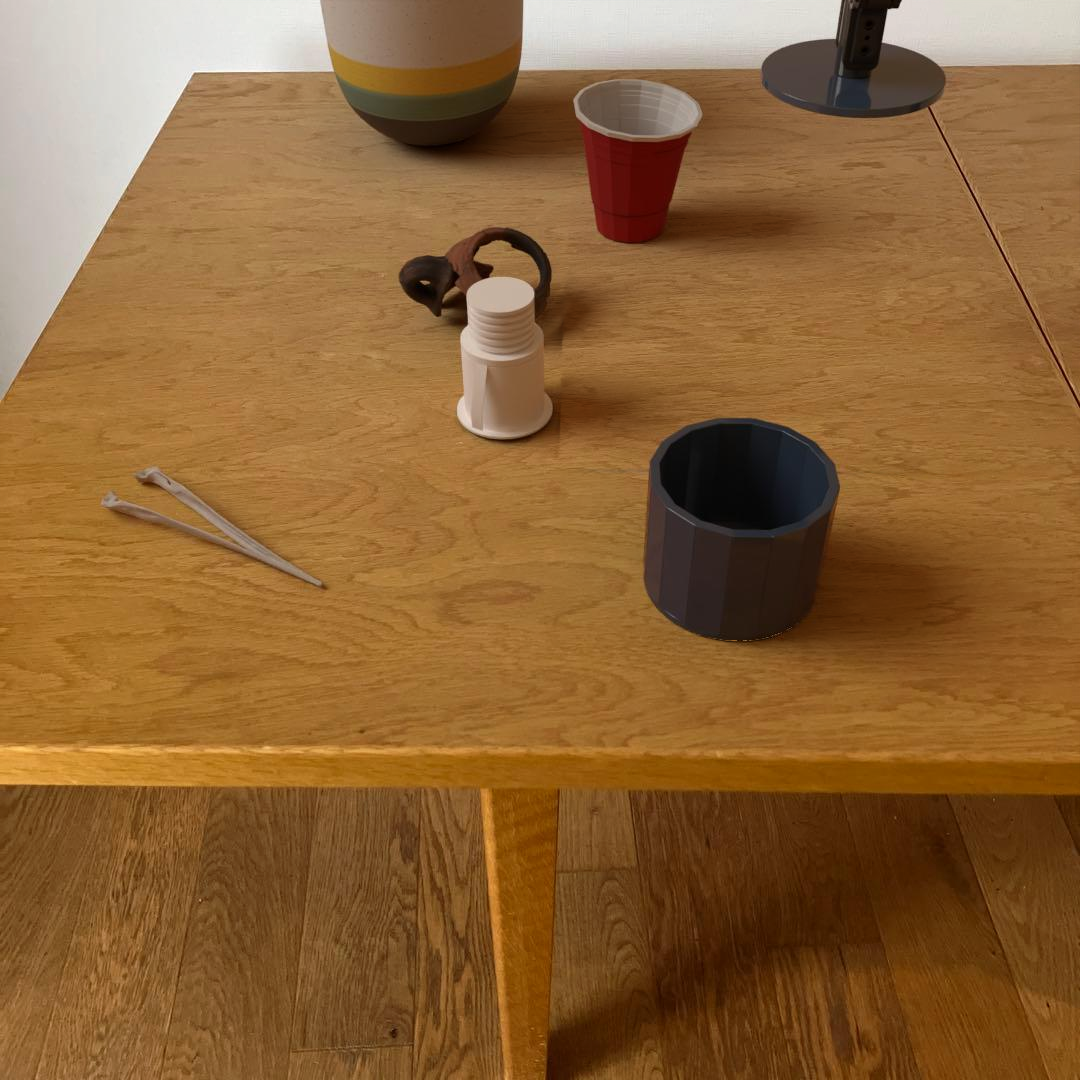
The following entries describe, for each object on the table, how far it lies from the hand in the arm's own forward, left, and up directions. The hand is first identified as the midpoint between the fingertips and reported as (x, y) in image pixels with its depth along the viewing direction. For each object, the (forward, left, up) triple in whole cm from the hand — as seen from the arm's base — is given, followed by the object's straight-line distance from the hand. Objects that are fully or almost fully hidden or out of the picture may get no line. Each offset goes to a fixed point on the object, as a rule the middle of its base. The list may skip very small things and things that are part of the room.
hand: (855, 57), depth 77 cm
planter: (+33, -40, -23) cm, 57 cm away
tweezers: (+41, +22, -23) cm, 52 cm away
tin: (+8, +25, -23) cm, 35 cm away
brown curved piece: (+26, -5, -23) cm, 35 cm away
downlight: (+23, +8, -23) cm, 34 cm away
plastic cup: (+13, -19, -23) cm, 33 cm away
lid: (0, 0, -1) cm, 1 cm away
